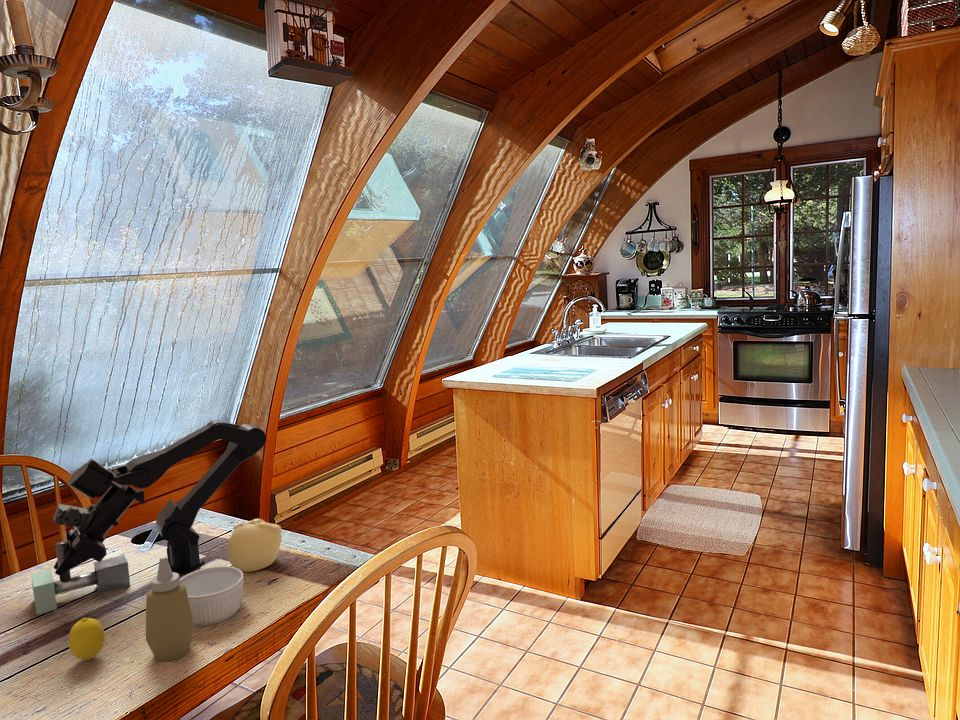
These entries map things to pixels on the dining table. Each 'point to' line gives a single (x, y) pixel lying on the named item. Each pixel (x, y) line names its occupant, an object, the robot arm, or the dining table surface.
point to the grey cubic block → (112, 574)
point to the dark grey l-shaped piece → (66, 580)
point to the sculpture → (254, 545)
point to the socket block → (43, 591)
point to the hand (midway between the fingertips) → (56, 571)
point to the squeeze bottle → (168, 615)
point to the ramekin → (214, 593)
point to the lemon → (86, 638)
